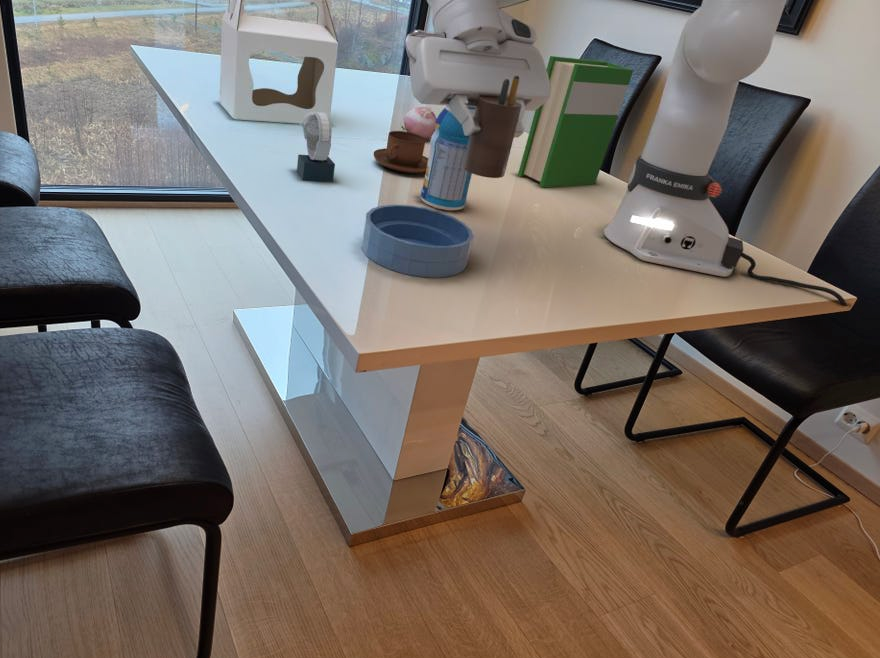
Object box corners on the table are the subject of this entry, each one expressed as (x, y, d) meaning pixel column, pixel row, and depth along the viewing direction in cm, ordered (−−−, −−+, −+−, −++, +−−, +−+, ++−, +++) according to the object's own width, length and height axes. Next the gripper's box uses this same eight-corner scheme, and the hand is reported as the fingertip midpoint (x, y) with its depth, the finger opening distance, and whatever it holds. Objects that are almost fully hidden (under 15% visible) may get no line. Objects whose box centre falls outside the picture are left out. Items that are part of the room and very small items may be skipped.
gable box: (311, 110, 161) (324, -22, 146) (330, 126, 151) (346, -13, 137) (218, 103, 151) (222, -39, 136) (232, 119, 141) (238, -31, 127)
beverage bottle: (436, 213, 114) (462, 90, 103) (410, 195, 119) (432, 77, 109) (474, 211, 118) (503, 93, 108) (447, 193, 124) (472, 80, 113)
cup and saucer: (426, 182, 128) (433, 150, 125) (366, 168, 128) (371, 136, 125) (434, 166, 138) (440, 136, 135) (378, 154, 139) (383, 123, 135)
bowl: (473, 253, 101) (481, 222, 99) (452, 292, 88) (461, 257, 86) (379, 227, 103) (384, 196, 101) (345, 261, 91) (350, 227, 88)
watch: (323, 169, 123) (330, 108, 117) (335, 185, 117) (343, 120, 111) (293, 168, 121) (299, 105, 115) (304, 183, 115) (311, 118, 109)
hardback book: (542, 187, 139) (578, 64, 126) (517, 175, 144) (550, 55, 131) (595, 183, 149) (633, 70, 136) (570, 172, 154) (605, 61, 141)
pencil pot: (507, 171, 91) (531, 75, 84) (500, 181, 86) (525, 80, 79) (467, 161, 92) (488, 65, 85) (459, 170, 87) (480, 70, 80)
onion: (409, 141, 152) (414, 109, 148) (395, 131, 158) (400, 100, 154) (439, 143, 155) (446, 111, 152) (425, 133, 161) (431, 102, 157)
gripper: (414, 11, 80) (440, 118, 78) (544, 29, 90) (570, 124, 88) (391, 44, 85) (414, 144, 83) (516, 58, 95) (539, 148, 93)
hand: (495, 134), depth 86 cm, fingers closed on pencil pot, 5 cm apart
